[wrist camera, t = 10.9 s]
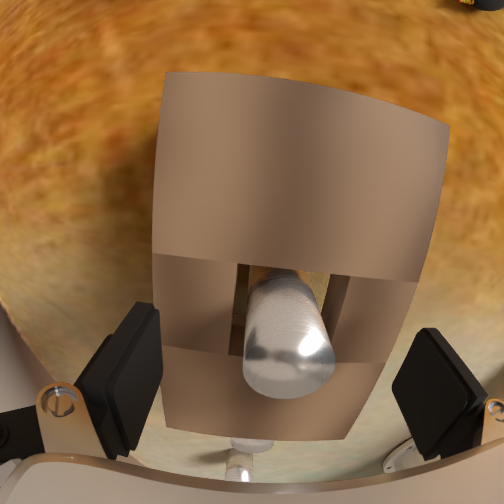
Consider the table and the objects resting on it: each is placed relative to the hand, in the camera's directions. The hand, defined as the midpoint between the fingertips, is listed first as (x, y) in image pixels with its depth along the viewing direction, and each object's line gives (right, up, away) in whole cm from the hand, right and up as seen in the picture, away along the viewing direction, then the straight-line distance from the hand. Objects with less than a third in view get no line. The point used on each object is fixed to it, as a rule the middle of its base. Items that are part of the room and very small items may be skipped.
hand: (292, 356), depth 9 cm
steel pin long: (0, +3, +10) cm, 10 cm away
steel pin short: (-3, -20, +18) cm, 27 cm away
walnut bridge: (0, +4, +10) cm, 10 cm away
